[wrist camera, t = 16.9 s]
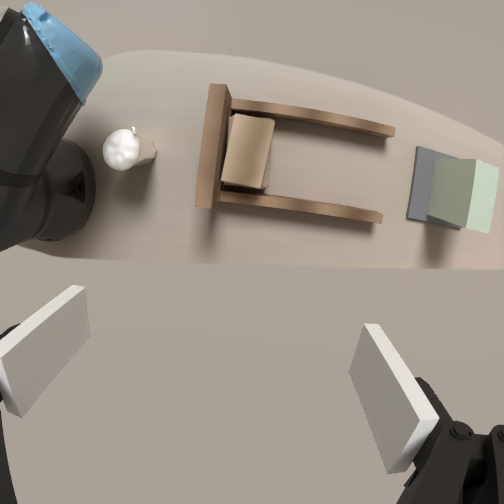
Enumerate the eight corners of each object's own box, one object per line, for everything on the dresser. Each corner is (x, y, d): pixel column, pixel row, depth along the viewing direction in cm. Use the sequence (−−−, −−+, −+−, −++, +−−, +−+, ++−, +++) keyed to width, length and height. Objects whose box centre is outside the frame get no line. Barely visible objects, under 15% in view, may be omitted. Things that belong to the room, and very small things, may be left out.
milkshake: (172, 147, 39) (147, 142, 30) (144, 175, 40) (112, 179, 31) (150, 123, 39) (120, 113, 29) (123, 152, 40) (87, 150, 30)
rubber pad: (406, 216, 41) (407, 217, 41) (416, 146, 38) (418, 146, 38) (459, 227, 41) (461, 228, 41) (470, 163, 39) (472, 163, 38)
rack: (209, 197, 41) (195, 206, 31) (221, 102, 38) (210, 83, 28) (373, 219, 41) (404, 235, 32) (386, 129, 38) (420, 121, 28)
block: (426, 214, 40) (465, 228, 31) (435, 158, 38) (476, 159, 29) (448, 218, 40) (488, 233, 31) (456, 164, 38) (499, 168, 29)
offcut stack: (224, 183, 41) (218, 186, 35) (232, 117, 38) (228, 109, 33) (266, 188, 41) (267, 192, 35) (274, 122, 38) (277, 115, 33)
